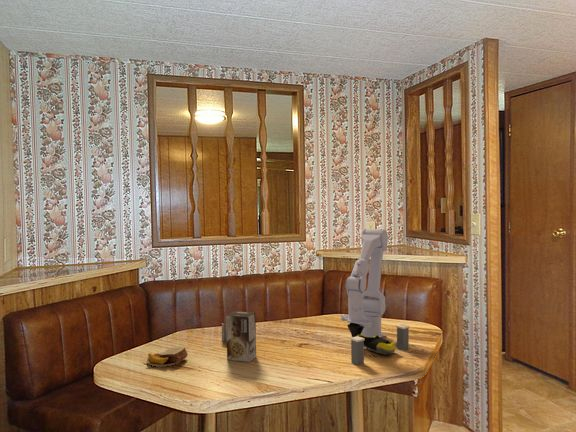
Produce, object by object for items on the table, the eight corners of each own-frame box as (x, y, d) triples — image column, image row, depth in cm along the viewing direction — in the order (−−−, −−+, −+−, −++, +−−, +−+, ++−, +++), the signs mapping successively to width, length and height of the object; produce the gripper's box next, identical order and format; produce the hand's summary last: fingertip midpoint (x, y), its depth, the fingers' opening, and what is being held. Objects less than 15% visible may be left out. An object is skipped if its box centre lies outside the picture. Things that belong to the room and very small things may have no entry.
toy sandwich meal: (162, 354, 161) (162, 341, 161) (193, 358, 156) (192, 345, 156) (139, 365, 150) (138, 352, 150) (171, 371, 144) (170, 357, 144)
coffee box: (256, 356, 157) (256, 312, 156) (249, 362, 151) (249, 316, 150) (234, 353, 160) (233, 310, 159) (226, 359, 154) (225, 314, 153)
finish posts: (350, 362, 149) (350, 338, 149) (402, 346, 166) (402, 324, 165) (357, 365, 147) (357, 340, 146) (409, 348, 163) (409, 326, 163)
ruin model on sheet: (248, 337, 181) (247, 314, 180) (250, 339, 178) (250, 316, 178) (221, 341, 176) (221, 317, 176) (223, 343, 173) (223, 319, 173)
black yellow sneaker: (380, 360, 151) (401, 354, 156) (380, 345, 151) (401, 339, 156) (353, 348, 164) (373, 343, 169) (353, 334, 164) (373, 329, 169)
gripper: (335, 305, 169) (335, 340, 170) (362, 312, 158) (362, 349, 158) (348, 303, 173) (348, 336, 174) (375, 309, 162) (375, 346, 162)
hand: (356, 342), depth 166 cm, fingers closed
